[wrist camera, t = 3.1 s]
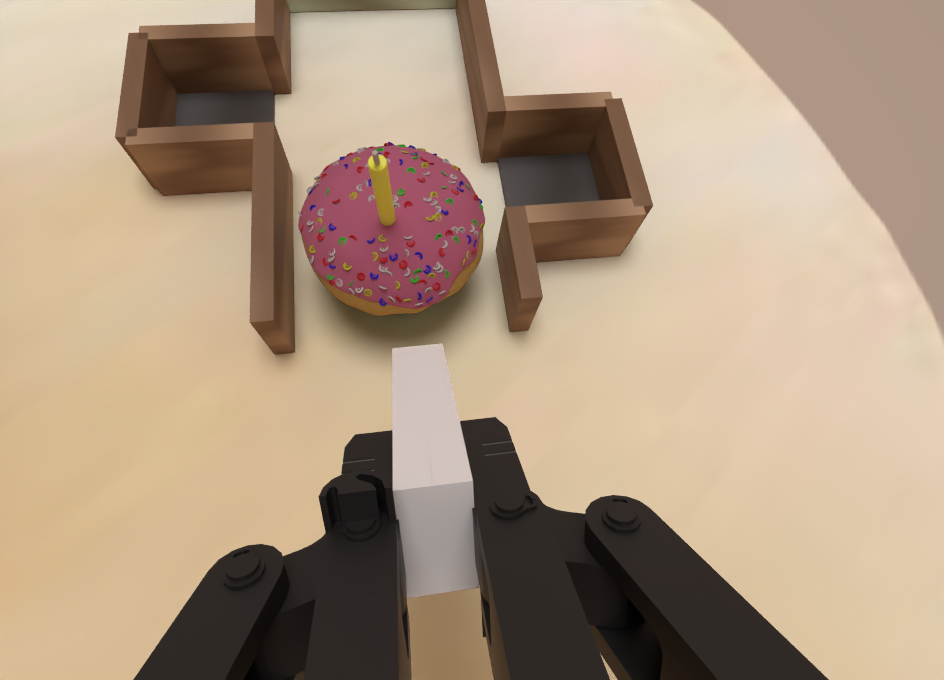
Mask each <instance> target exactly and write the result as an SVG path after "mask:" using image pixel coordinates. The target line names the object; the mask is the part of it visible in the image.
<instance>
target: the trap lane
mask: <svg viewBox="0 0 944 680" xmlns="http://www.w3.org/2000/svg"><path fill="white" fill-rule="evenodd" d="M435 8H456V13H457V19H458V25H459V31H460V37H461V43H462V49H463V55H464V61H465V67H466V73H467V79H468V85H469V91H470V97H471V103H472V109H473V115H474V121H475V127H476V133H477V139H478V145H479V151H480V157H481V162H496V161H498V165H499V171H500V176H501V182H502V188H503V193H504V199H505V204H506V207H505V209H504V214H503V219H502V223H501V228H500V233H499V237H498V242H497V246H496V253H497V259H498V265H499V271H500V277H501V283H502V289H503V295H504V301H505V307H506V313H507V319H508V325H509V331H510V332H514V331H524V330H528V329H529V327H530V325H531V323H532V320H533V318H534V316H535V313H536V311H537V309H538V307H539V304H540V302H541V300H542V298H543V295H542V290H541V285H540V280H539V275H538V270H537V265H536V262H544V261H557V260H569V259H582V258H594V257H607V256H619V255H621V253H622V252H623V250H624V248H625V247H627V245H628V244H629V242H630V241H631V239H632V238H633V236H634V235H635V233H636V231H637V230H638V228H639V227H640V225H641V224H642V222H643V220H644V219H645V217H646V216H647V214H648V213H649V211H650V210H651V208H652V206H653V203H652V200H651V196H650V193H649V190H648V186H647V183H646V180H645V176H644V173H643V169H642V166H641V163H640V159H639V156H638V152H637V149H636V146H635V142H634V139H633V135H632V132H631V129H630V125H629V122H628V118H627V115H626V112H625V108H624V105H623V102H622V98H619V99H613V98H612V94H611V92H595V93H572V94H550V95H527V96H504V95H503V90H502V85H501V80H500V75H499V70H498V65H497V59H496V54H495V49H494V44H493V39H492V34H491V29H490V24H489V18H488V13H487V8H486V3H485V0H255V23H235V24H197V25H160V26H139V33H129V35H128V43H127V50H126V58H125V66H124V73H123V81H122V88H121V96H120V104H119V111H118V119H117V127H116V134H115V138H116V139H117V141H118V142H119V143H120V144H121V146H122V147H123V148H124V150H125V151H126V152H127V154H128V155H129V156H130V158H131V159H132V160H133V162H134V163H135V164H136V166H137V167H138V168H139V170H140V171H141V172H142V174H143V175H144V176H145V178H146V179H147V180H148V182H149V183H150V184H151V186H152V187H153V188H154V189H155V188H157V189H158V190H159V191H160V193H161V194H162V195H179V194H195V193H212V192H228V191H245V190H252V227H251V284H250V323H251V325H252V326H253V327H254V328H255V330H256V331H257V332H258V334H259V335H260V336H261V337H262V339H263V340H264V341H265V343H266V344H267V345H268V346H269V348H270V349H271V350H272V352H273V353H274V354H280V353H290V352H295V329H294V259H293V189H292V171H291V168H290V166H289V163H288V160H287V157H286V154H285V152H284V149H283V146H282V143H281V141H280V138H279V135H278V132H277V129H276V127H275V124H274V94H287V93H291V50H290V12H313V11H354V10H394V9H435Z"/></svg>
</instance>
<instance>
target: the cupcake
mask: <svg viewBox="0 0 944 680" xmlns="http://www.w3.org/2000/svg"><path fill="white" fill-rule="evenodd" d="M392 145H393V146H392ZM411 147H412V148H411ZM436 155H437V154H431V153H428V152H426V151H425V149H419V148H417V149H416V148H415V147H414V146H411V145H410V146H409V147H405V145H395V146H394V144H392V143H391V142H388V143H385V144H384V146H380V147H369V148H366V147H363V148H361V149H357V152H354V153H349V154H347V156H346V157H340V160H338V161H336V162H334V163H332V164H330V165H328V166H327V167H326V168H325V169H324V170H323V172H322V173H321V174H320V175H319V176H317V177H315V178H314V179H315V180H316V179H317V180H316V182H315V183H314V185H313V187H309V188H308V189H307V193H309V194H308V196H307V198H306V200H305V202H304V205H303V208H302V210H301V213H300V212H299V211H298V213H299V215H300V217H299V224H298V226H299V230H300V232H301V235H302V240H303V244H304V247H305V251H306V254H307V257H308V259H309V261H310V264H311V266H312V268H313V270H314V272H315V273H316V275H317V277H318V278H319V280H320V281H321V282H322V284H323V285H324V286H325V287H326V288H327V289H328V290H329V291H330V292H331V293H332V294H333V295H334V296H335V297H336V298H337V299H339V300H340V301H342V302H343V303H345V304H347V305H350V306H352V307H355V308H358V309H360V310H362V311H364V312H367V313H369V314H372V315H389V314H406V313H411V314H412V313H418V312H420V311H423V310H424V309H426V308H428V307H430V306H431V305H433V304H435V303H438V302H440V301H442V300H444V299H446V298H448V297H449V296H451V295H453V294H454V293H456V292H458V291H459V290H460V289H461V288H462V287H463V286H464V284H465V283H466V282H467V280H468V278H469V277H470V275H471V274H472V273H473V271H474V270H475V269H476V267H477V266H478V264H479V262H480V259H481V256H482V251H483V227H484V224H485V217H484V213H483V206H482V205H481V203H482V200H481V199H479V198H478V196H477V195H476V193H475V192H474V190H473V188H472V186H471V184H470V182H469V181H468V179H467V178H466V177H465V175H464V174H463V173H462V172H461V171H460V168H458V167H456V166H454V165H451V164H450V163H449V161H448V160H447V159H444V160H443V159H441V158H439V157H437V156H436ZM446 161H447V162H446ZM309 190H310V191H309ZM479 200H480V202H479Z"/></svg>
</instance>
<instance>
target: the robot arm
mask: <svg viewBox="0 0 944 680" xmlns="http://www.w3.org/2000/svg"><path fill="white" fill-rule="evenodd" d="M341 473H342V475H340V476H338V477H336V478H334V479H332V480H331V481H330V482H329V483H328V484H327V485H325V486H324V487H323V489H322V491H321V493H320V495H319V501H320V506H321V511H322V516H323V521H324V526H325V531H326V533H325V535H324V536H323V537H322V538H321V539H319V540H318V541H316V542H315V543H313V544H312V545H310V546H308V547H306V548H303V549H301V550H299V551H296V552H293V553H291V554H288V555H285V556H283V557H282V553H281V552H280V551H278V550H277V549H276V548H275V547H273V546H268V545H264V544H257V545H248V546H245V547H242V548H239V549H236V550H234V551H232V552H230V553H229V554H227V555H225V556H224V557H222V558H221V559H219V560H218V561H217V562H216V563H215V564H214V565H213V567H212V568H211V569H210V570H209V571H208V572H207V574H206V575H205V577H204V578H203V580H202V581H201V582H200V584H199V585H198V587H197V588H196V590H195V591H194V593H193V594H192V596H191V597H190V598H189V600H188V601H187V603H186V604H185V606H184V607H183V609H182V610H181V611H180V613H179V614H178V616H177V617H176V619H175V620H174V622H173V623H172V625H171V626H170V627H169V629H168V630H167V632H166V633H165V635H164V636H163V638H162V639H161V640H160V642H159V643H158V645H157V646H156V648H155V649H154V651H153V652H152V654H151V655H150V656H149V658H148V659H147V661H146V662H145V664H144V665H143V667H142V668H141V670H140V671H139V672H138V674H137V675H136V677H135V678H134V680H412V679H411V654H410V628H409V616H408V608H407V598H412V597H419V596H425V595H432V594H439V593H446V592H453V591H459V590H466V589H473V588H479V585H480V591H481V608H482V626H483V637H486V638H487V643H488V649H489V655H490V660H491V666H492V672H493V677H494V680H610V679H609V676H608V673H607V671H606V668H605V666H604V663H603V660H602V658H601V655H602V656H603V658H604V659H605V661H606V662H607V664H608V665H609V667H610V668H611V670H612V671H613V673H614V674H615V676H616V677H617V679H618V680H828V679H827V678H826V677H825V676H824V675H823V674H822V673H821V672H820V671H819V670H818V669H817V668H816V667H815V666H814V665H813V664H812V663H811V662H810V661H809V660H808V659H807V658H806V657H805V656H803V655H802V654H801V653H800V652H799V651H798V650H797V649H796V648H795V647H794V646H793V645H792V644H791V643H790V642H789V641H788V640H787V639H786V638H785V637H784V636H783V635H782V634H781V633H780V632H778V631H777V630H776V629H775V628H774V627H773V626H772V625H771V624H770V623H769V622H768V621H767V620H766V619H765V618H764V617H763V616H762V615H761V614H760V613H759V612H758V611H757V610H756V609H755V608H753V607H752V606H751V605H750V604H749V603H748V602H747V601H746V600H745V599H744V598H743V597H742V596H741V595H740V594H739V593H738V592H737V591H736V590H735V589H734V588H733V587H732V586H731V585H730V584H728V583H727V582H726V581H725V580H724V579H723V578H722V577H721V576H720V575H719V574H718V573H717V572H716V571H715V570H714V569H713V568H712V567H711V566H710V565H709V564H708V563H707V562H706V561H705V560H703V559H702V558H701V557H700V556H699V555H698V554H697V553H696V552H695V551H694V550H693V549H692V548H691V547H690V546H689V545H688V544H687V543H686V542H685V541H684V540H683V539H682V538H681V537H680V536H678V535H677V534H676V533H675V532H674V531H673V530H672V529H671V528H670V527H669V526H668V525H667V524H666V523H665V522H664V521H663V520H662V519H661V518H660V517H659V516H658V515H657V514H656V513H655V512H653V511H652V510H651V509H650V508H649V507H647V506H646V505H645V504H643V503H642V502H640V501H638V500H635V499H632V498H630V497H627V496H617V495H611V496H605V497H600V498H598V499H597V500H595V501H593V502H591V503H590V505H589V506H588V508H587V509H586V514H582V513H573V512H565V511H560V510H555V509H553V508H550V507H547V506H546V505H544V504H543V503H542V501H541V500H540V498H539V497H538V496H537V495H536V494H535V493H533V492H532V491H530V488H529V486H528V483H527V480H526V477H525V475H524V472H523V469H522V466H521V464H520V461H519V458H518V455H517V453H516V450H515V447H514V444H513V442H512V439H511V436H510V433H509V431H508V428H507V427H506V426H505V425H504V424H503V423H502V422H500V421H499V420H498V419H497V418H496V417H493V418H484V419H475V420H467V421H460V420H459V416H458V411H457V406H456V402H455V397H454V393H453V388H452V384H451V379H450V375H449V370H448V365H447V361H446V356H445V352H444V347H443V343H441V344H431V345H421V346H410V347H400V348H392V430H391V431H383V432H374V433H365V434H356V435H354V437H353V438H352V439H351V440H350V442H349V443H348V444H347V446H346V447H345V450H344V458H343V465H342V472H341ZM600 653H601V655H600Z"/></svg>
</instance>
